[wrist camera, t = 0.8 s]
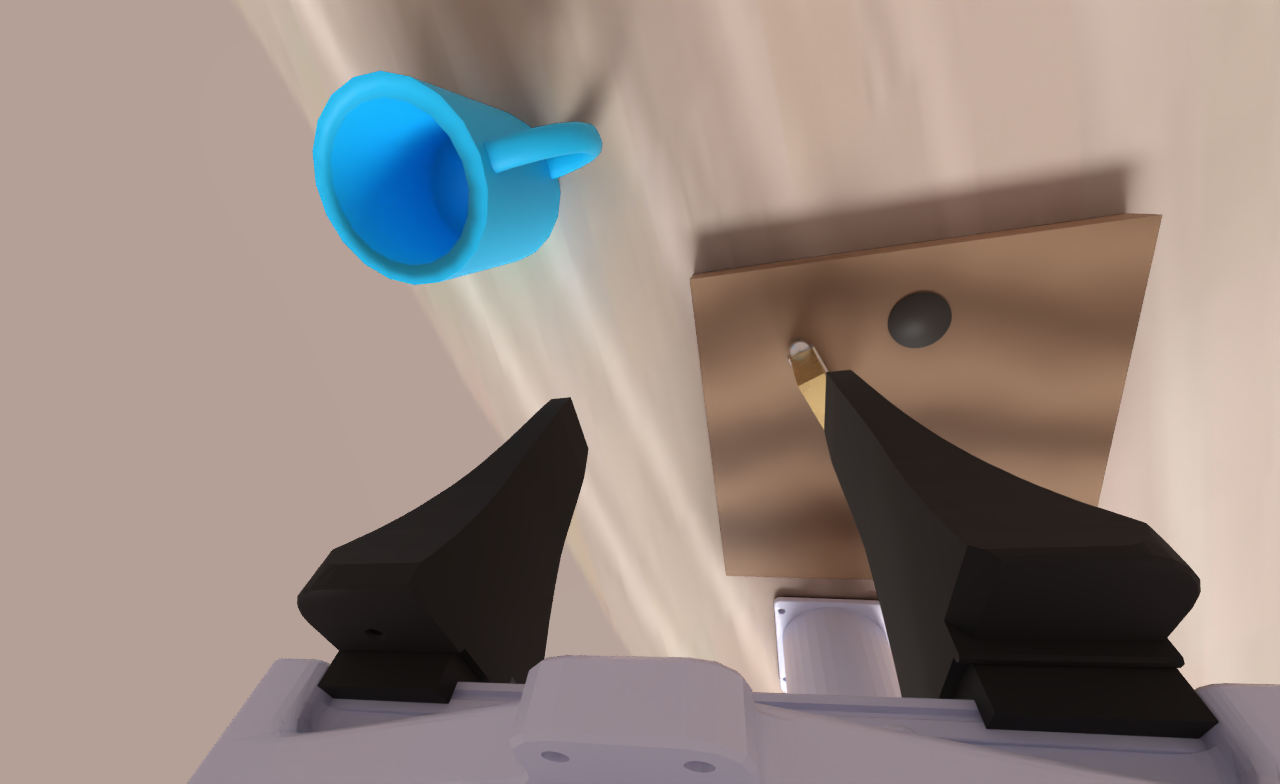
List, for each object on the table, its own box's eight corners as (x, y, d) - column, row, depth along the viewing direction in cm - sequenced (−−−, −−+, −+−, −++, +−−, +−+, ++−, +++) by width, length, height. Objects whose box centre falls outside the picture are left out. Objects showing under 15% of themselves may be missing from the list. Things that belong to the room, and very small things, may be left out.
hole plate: (1058, 559, 28) (1081, 586, 26) (727, 555, 33) (726, 576, 31) (1126, 213, 21) (1164, 214, 19) (693, 273, 26) (689, 279, 24)
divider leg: (953, 548, 27) (994, 616, 22) (891, 568, 28) (918, 635, 24) (827, 322, 23) (846, 349, 19) (763, 356, 25) (767, 389, 20)
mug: (463, 277, 29) (368, 303, 22) (407, 138, 27) (278, 114, 19) (641, 223, 26) (600, 232, 18) (597, 57, 23) (528, -10, 16)
